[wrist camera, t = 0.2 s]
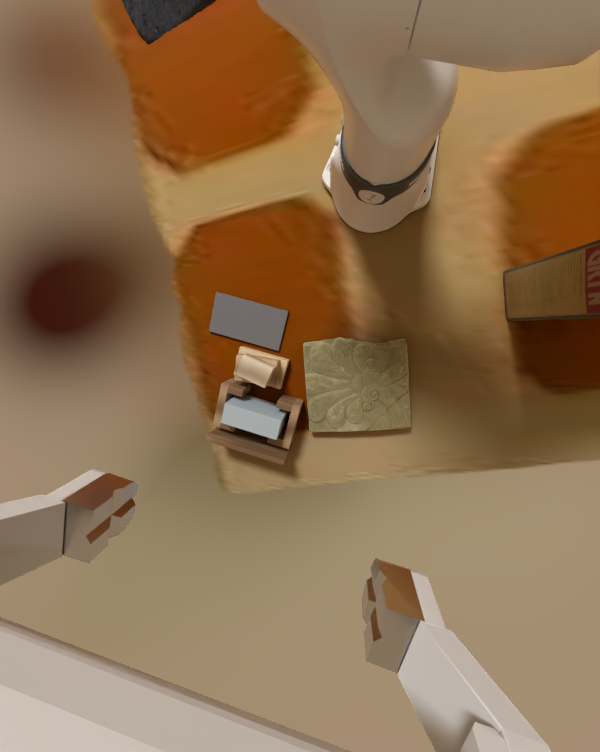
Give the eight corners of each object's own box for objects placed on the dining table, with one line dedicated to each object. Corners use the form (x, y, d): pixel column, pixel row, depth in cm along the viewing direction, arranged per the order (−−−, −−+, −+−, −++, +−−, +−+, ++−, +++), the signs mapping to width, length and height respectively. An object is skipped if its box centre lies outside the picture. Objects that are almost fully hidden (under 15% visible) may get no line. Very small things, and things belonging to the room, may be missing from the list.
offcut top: (247, 353, 53) (243, 354, 50) (276, 366, 52) (272, 368, 50) (240, 371, 54) (235, 374, 51) (267, 385, 53) (264, 388, 51)
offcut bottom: (244, 345, 58) (240, 346, 55) (290, 359, 57) (287, 360, 54) (237, 372, 59) (233, 374, 56) (282, 386, 58) (280, 389, 56)
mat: (217, 292, 56) (216, 291, 55) (288, 311, 54) (288, 311, 54) (210, 330, 57) (208, 331, 57) (279, 350, 56) (278, 350, 56)
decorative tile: (408, 424, 56) (413, 431, 52) (309, 428, 59) (308, 434, 55) (406, 330, 53) (411, 331, 49) (302, 339, 56) (299, 340, 52)
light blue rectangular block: (240, 392, 59) (225, 403, 51) (289, 407, 58) (281, 420, 50) (236, 409, 60) (220, 422, 52) (284, 424, 59) (276, 440, 51)
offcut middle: (241, 353, 55) (236, 354, 53) (280, 359, 55) (277, 361, 52) (238, 377, 56) (234, 379, 54) (276, 384, 56) (274, 387, 53)
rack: (231, 378, 59) (217, 385, 52) (303, 400, 57) (298, 410, 51) (220, 427, 61) (205, 440, 54) (289, 449, 60) (283, 465, 53)
